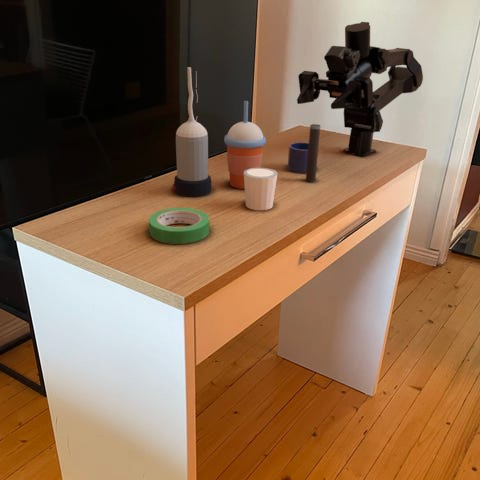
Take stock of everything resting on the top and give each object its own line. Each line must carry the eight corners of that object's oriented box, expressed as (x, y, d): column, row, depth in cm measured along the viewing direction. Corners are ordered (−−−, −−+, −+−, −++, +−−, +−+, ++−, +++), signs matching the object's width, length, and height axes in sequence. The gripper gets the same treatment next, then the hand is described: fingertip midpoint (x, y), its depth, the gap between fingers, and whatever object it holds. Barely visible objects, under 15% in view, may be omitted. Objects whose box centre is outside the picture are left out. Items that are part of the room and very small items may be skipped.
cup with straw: (265, 179, 134) (269, 97, 124) (262, 192, 126) (266, 106, 117) (226, 177, 135) (227, 96, 125) (221, 190, 127) (221, 104, 117)
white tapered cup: (279, 202, 122) (281, 169, 118) (270, 213, 116) (272, 179, 112) (248, 197, 123) (249, 165, 120) (238, 208, 118) (238, 175, 114)
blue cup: (299, 162, 145) (301, 140, 142) (321, 169, 141) (323, 146, 139) (282, 168, 141) (283, 145, 138) (303, 175, 137) (305, 151, 134)
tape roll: (159, 248, 101) (158, 234, 100) (142, 225, 110) (141, 211, 108) (218, 239, 105) (218, 225, 103) (197, 217, 113) (197, 204, 112)
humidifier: (166, 190, 126) (160, 66, 113) (193, 181, 131) (191, 62, 118) (191, 199, 122) (188, 72, 108) (219, 190, 127) (219, 67, 113)
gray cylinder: (309, 178, 135) (314, 123, 129) (317, 180, 134) (322, 125, 127) (303, 180, 134) (308, 125, 127) (311, 182, 132) (316, 127, 126)
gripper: (315, 38, 137) (276, 64, 130) (386, 43, 127) (348, 71, 119) (319, 85, 145) (283, 112, 137) (386, 93, 134) (350, 122, 127)
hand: (314, 104), depth 130 cm, fingers open, 9 cm apart
